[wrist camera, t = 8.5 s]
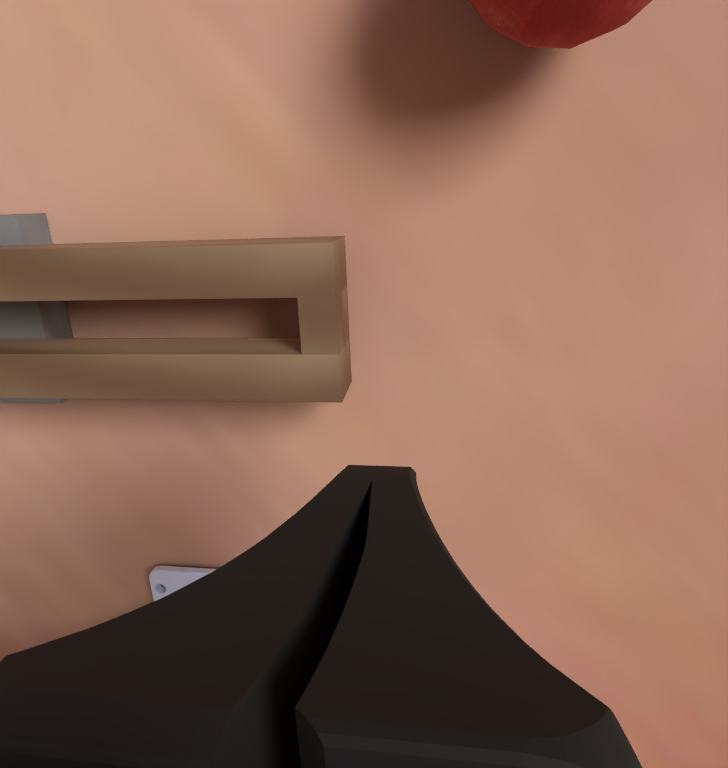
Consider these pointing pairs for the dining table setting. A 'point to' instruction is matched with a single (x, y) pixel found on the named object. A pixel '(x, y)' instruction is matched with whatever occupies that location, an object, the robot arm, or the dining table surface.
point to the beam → (169, 355)
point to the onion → (556, 19)
